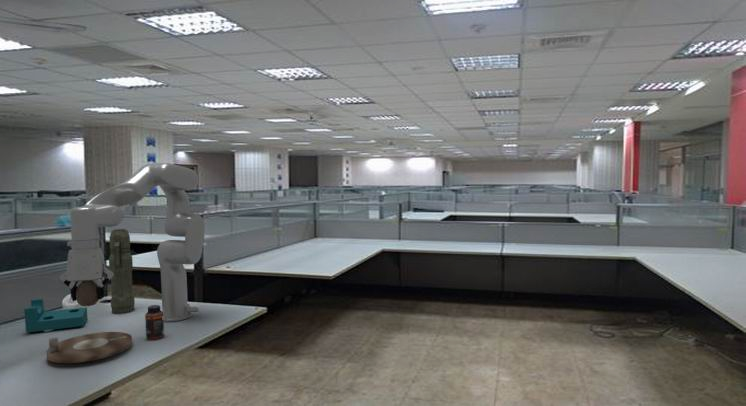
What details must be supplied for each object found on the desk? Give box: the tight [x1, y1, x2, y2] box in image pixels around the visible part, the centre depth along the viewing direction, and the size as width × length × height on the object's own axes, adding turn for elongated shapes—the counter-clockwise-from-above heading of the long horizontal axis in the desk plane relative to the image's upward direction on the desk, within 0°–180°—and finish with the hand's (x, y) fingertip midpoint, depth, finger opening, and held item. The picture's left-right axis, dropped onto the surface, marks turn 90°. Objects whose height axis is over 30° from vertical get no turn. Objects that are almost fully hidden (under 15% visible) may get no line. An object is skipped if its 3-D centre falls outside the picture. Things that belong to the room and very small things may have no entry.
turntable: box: [45, 331, 133, 364], centre depth 155 cm, size 24×24×6 cm
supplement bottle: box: [144, 304, 165, 341], centre depth 169 cm, size 6×6×11 cm
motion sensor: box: [61, 293, 84, 310], centre depth 204 cm, size 8×8×8 cm
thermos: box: [108, 228, 135, 315], centre depth 202 cm, size 9×12×35 cm
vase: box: [75, 280, 100, 307], centre depth 155 cm, size 7×7×9 cm
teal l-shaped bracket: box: [23, 298, 88, 334], centre depth 182 cm, size 18×11×10 cm, turn 113°
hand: (88, 298), depth 155 cm, fingers closed on vase, 6 cm apart
